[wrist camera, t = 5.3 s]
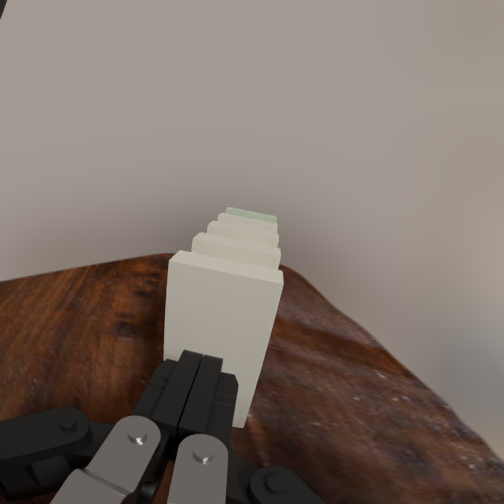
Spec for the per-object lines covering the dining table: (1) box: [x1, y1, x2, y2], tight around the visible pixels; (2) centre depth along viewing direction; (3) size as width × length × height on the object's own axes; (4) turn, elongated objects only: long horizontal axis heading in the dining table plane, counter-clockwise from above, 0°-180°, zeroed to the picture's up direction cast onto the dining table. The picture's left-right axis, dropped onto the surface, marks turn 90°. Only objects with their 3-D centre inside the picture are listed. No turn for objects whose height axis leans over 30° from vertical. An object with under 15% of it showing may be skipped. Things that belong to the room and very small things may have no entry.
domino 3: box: [207, 221, 279, 248], centre depth 22 cm, size 5×2×10 cm, turn 86°
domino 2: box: [191, 232, 281, 270], centre depth 18 cm, size 5×2×10 cm, turn 86°
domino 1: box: [164, 250, 284, 428], centre depth 14 cm, size 5×2×10 cm, turn 86°
